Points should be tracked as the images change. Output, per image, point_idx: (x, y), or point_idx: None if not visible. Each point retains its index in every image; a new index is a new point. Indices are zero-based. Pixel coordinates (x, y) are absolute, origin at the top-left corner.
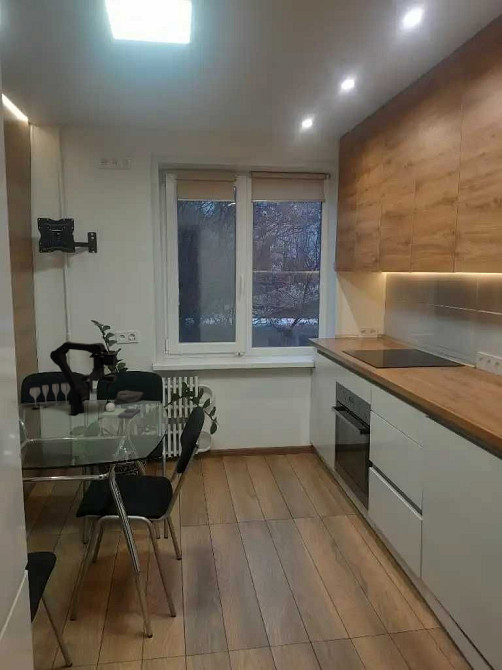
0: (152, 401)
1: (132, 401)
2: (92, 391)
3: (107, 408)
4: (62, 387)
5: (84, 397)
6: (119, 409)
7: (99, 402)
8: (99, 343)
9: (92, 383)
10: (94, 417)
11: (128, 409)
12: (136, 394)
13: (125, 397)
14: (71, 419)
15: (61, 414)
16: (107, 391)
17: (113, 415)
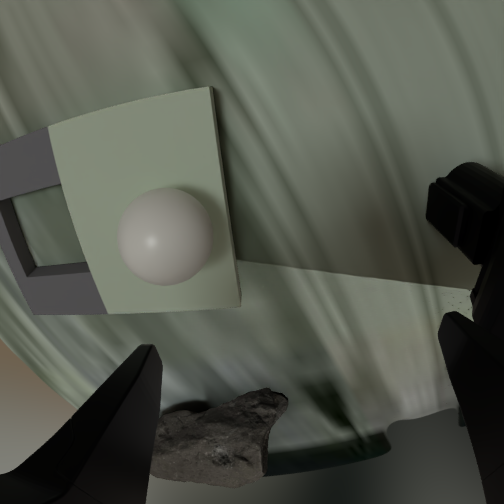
0: None
1: (170, 419)
2: (444, 346)
3: (169, 190)
4: None
5: (493, 271)
6: (144, 289)
7: (387, 404)
8: None
9: (487, 473)
10: (269, 73)
11: (85, 299)
12: (159, 461)
13: (207, 439)
14: (432, 3)
15: None
16: (126, 365)
17: (81, 115)
